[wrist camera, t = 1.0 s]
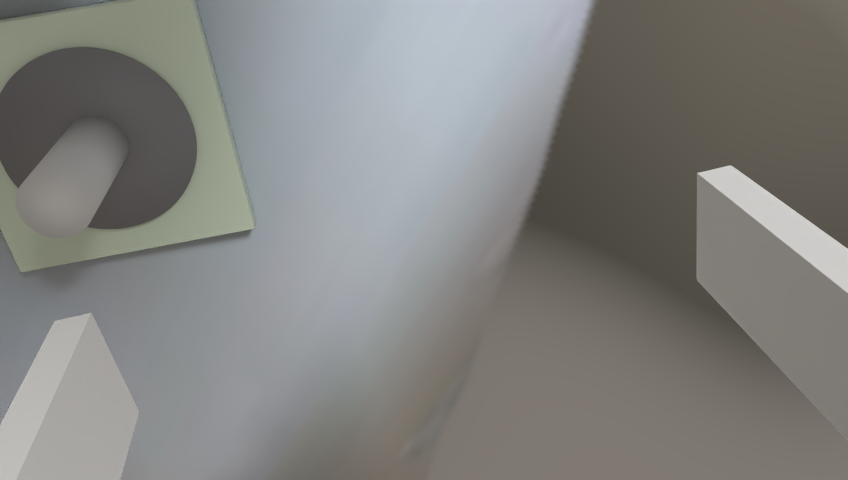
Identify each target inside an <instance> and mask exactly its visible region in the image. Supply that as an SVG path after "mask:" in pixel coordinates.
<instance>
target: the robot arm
mask: <svg viewBox="0 0 848 480" xmlns="http://www.w3.org/2000/svg"><path fill="white" fill-rule="evenodd" d="M697 281H698V282H699V283H700V284H701V285H702V286H703V287H704V288H705V289H706V290H707V291H708V292H709V293H710V294H711V295H712V296H713V298H714V299H715V300H716V301H717V302H718V303H719V304H720V305H721V306H722V307H723V308H724V309H725V310H726V311H727V313H728V314H729V315H730V316H731V317H732V318H733V319H734V320H735V321H736V322H737V323H738V324H739V325H740V326H741V327H742V329H743V330H744V331H745V332H746V333H747V334H748V335H749V336H750V337H751V338H752V339H753V340H754V341H755V342H756V343H757V344H758V346H759V347H760V348H761V349H762V350H763V351H764V352H765V353H766V354H767V355H768V356H769V357H770V358H771V359H772V361H773V362H774V363H775V364H776V365H777V366H778V367H779V368H780V369H781V370H782V371H783V372H784V373H785V374H786V375H787V376H788V378H789V379H791V381H792V382H793V383H794V384H795V385H796V386H797V387H798V388H799V389H800V390H801V391H802V393H803V394H804V395H805V396H806V397H807V398H808V399H809V400H810V401H811V402H812V403H813V404H814V405H815V406H816V407H817V408H818V410H819V411H820V412H821V413H822V414H823V415H824V416H825V417H826V418H827V419H828V420H829V421H830V422H831V423H832V424H833V426H834V427H835V428H836V429H837V430H838V431H839V432H840V433H841V434H842V435H843V436H844V437H845V438H846V439H847V440H848V249H847V248H845V247H844V246H843V245H841V244H840V243H839V242H837V241H836V240H834V239H833V238H832V237H830V236H829V235H827V234H826V233H824V232H823V231H822V230H820V229H819V228H818V227H816V226H815V225H813V224H812V223H811V222H809V221H808V220H807V219H805V218H804V217H802V216H801V215H799V214H798V213H797V212H795V211H794V210H793V209H791V208H790V207H788V206H787V205H786V204H784V203H783V202H781V201H780V200H779V199H777V198H776V197H774V196H773V195H772V194H770V193H769V192H767V191H766V190H765V189H763V188H762V187H761V186H759V185H758V184H756V183H755V182H754V181H752V180H751V179H749V178H748V177H747V176H745V175H744V174H742V173H741V172H740V171H738V170H736V169H735V168H734V167H733V166H726V167H722V168H718V169H713V170H709V171H705V172H700V173H697ZM138 415H139V411H138V408H137V406H136V404H135V402H134V400H133V398H132V396H131V394H130V392H129V390H128V388H127V386H126V384H125V381H124V379H123V377H122V375H121V373H120V371H119V369H118V367H117V365H116V363H115V361H114V359H113V357H112V354H111V352H110V350H109V348H108V346H107V344H106V342H105V340H104V338H103V336H102V334H101V332H100V330H99V327H98V325H97V323H96V321H95V319H94V317H93V315H92V313H87V314H83V315H79V316H74V317H70V318H66V319H61V320H57V321H54V323H53V325H52V327H51V329H50V330H49V332H48V334H47V336H46V338H45V340H44V342H43V344H42V346H41V348H40V350H39V352H38V353H37V355H36V357H35V359H34V361H33V363H32V365H31V367H30V369H29V371H28V373H27V375H26V377H25V378H24V380H23V382H22V384H21V386H20V388H19V390H18V392H17V394H16V396H15V398H14V400H13V401H12V403H11V405H10V407H9V409H8V411H7V413H6V415H5V417H4V419H3V421H2V423H1V424H0V480H120V478H121V475H122V471H123V468H124V464H125V461H126V457H127V454H128V450H129V447H130V443H131V440H132V436H133V433H134V429H135V426H136V422H137V418H138Z"/></svg>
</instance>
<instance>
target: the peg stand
mask: <svg viewBox="0 0 848 480" xmlns="http://www.w3.org/2000/svg"><path fill="white" fill-rule="evenodd" d="M255 222H256V219H255V216H254V212H253V209H252V205H251V201H250V198H249V194H248V190H247V187H246V183H245V179H244V176H243V172H242V169H241V165H240V161H239V158H238V154H237V150H236V147H235V143H234V139H233V136H232V132H231V129H230V125H229V121H228V118H227V114H226V110H225V107H224V103H223V99H222V96H221V92H220V89H219V85H218V81H217V78H216V74H215V70H214V67H213V63H212V60H211V56H210V52H209V49H208V45H207V41H206V38H205V34H204V30H203V27H202V23H201V20H200V16H199V12H198V9H197V5H196V1H195V0H117V1H111V2H105V3H99V4H93V5H87V6H81V7H74V8H68V9H62V10H56V11H50V12H44V13H38V14H32V15H26V16H20V17H14V18H7V19H1V20H0V230H1V232H2V234H3V236H4V238H5V240H6V242H7V244H8V247H9V249H10V251H11V253H12V255H13V257H14V259H15V262H16V264H17V266H18V268H19V270H20V272H21V273H22V272H27V271H32V270H37V269H43V268H48V267H53V266H59V265H64V264H69V263H75V262H80V261H85V260H91V259H96V258H101V257H107V256H112V255H117V254H123V253H128V252H133V251H139V250H144V249H149V248H154V247H160V246H165V245H170V244H176V243H181V242H186V241H192V240H197V239H202V238H208V237H213V236H218V235H224V234H229V233H234V232H240V231H245V230H250V229H255Z"/></svg>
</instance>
